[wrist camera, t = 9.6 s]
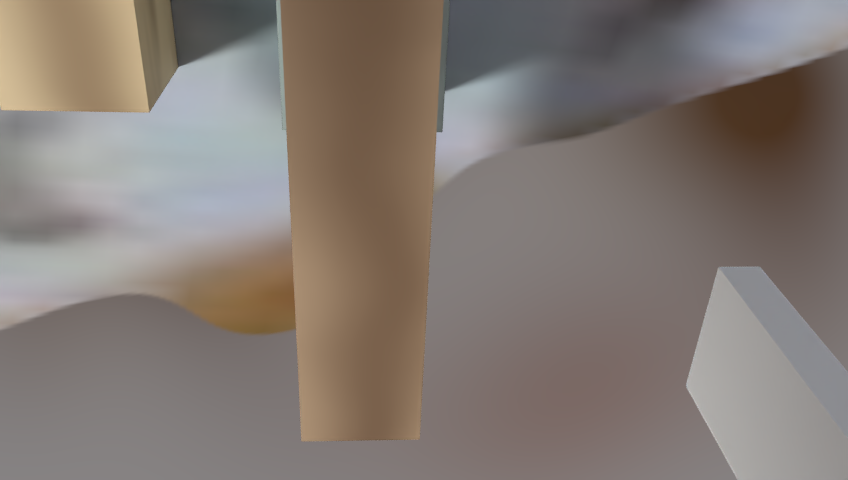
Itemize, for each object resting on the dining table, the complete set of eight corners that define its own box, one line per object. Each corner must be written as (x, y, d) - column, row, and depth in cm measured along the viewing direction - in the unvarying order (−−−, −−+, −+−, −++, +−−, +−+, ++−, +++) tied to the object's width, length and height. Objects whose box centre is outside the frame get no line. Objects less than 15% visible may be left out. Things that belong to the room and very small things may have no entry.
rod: (308, 365, 30) (301, 441, 26) (280, -350, 19) (261, -380, 15) (413, 364, 30) (419, 439, 27) (445, -340, 19) (463, -366, 16)
